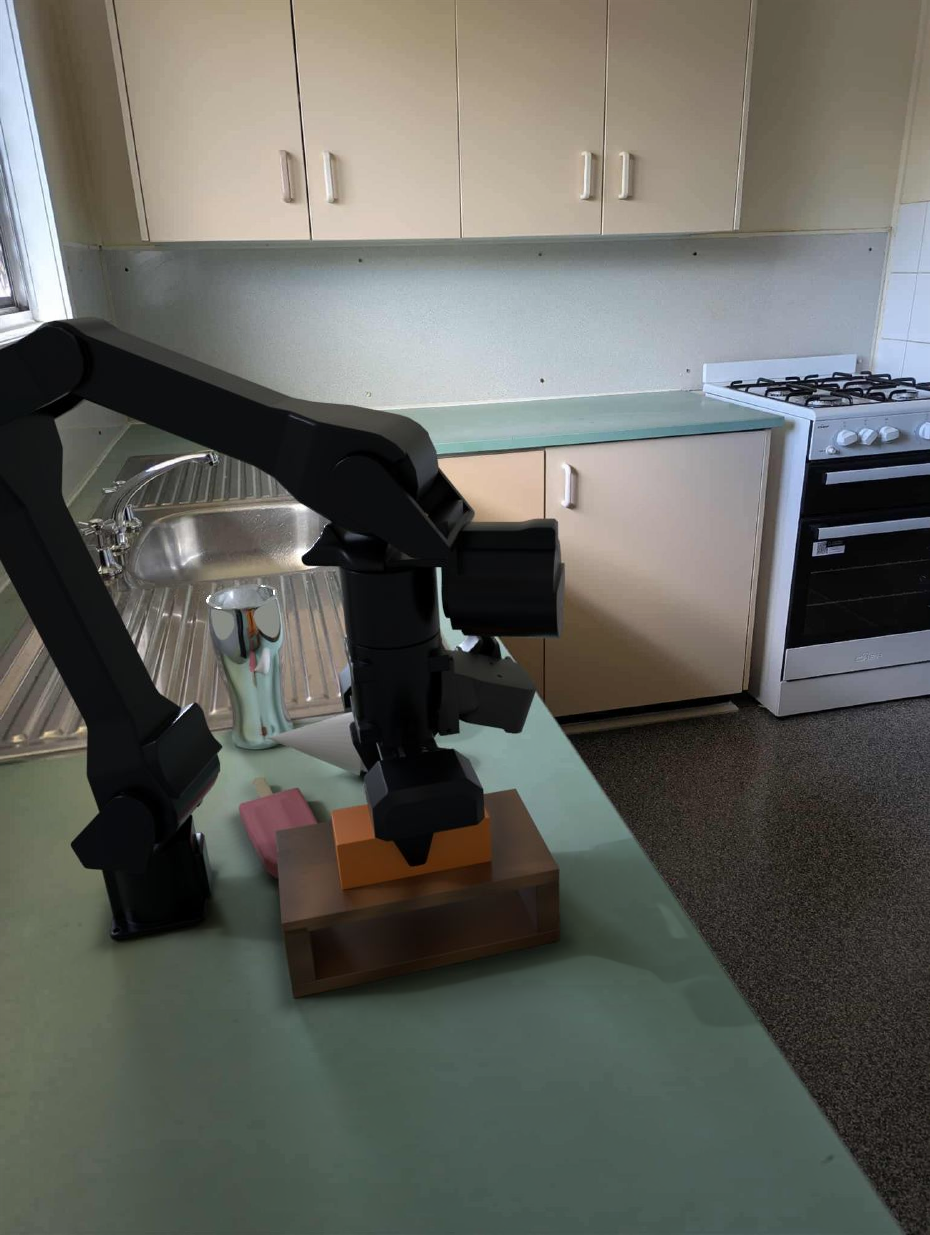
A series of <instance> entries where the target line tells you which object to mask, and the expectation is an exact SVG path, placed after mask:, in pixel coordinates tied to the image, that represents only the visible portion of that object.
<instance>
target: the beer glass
mask: <svg viewBox="0 0 930 1235" xmlns="http://www.w3.org/2000/svg"><path fill="white" fill-rule="evenodd" d="M206 604H207V612H208V613H207V615H208V616H207V617H208V626H209V628H208V629H209V635H210V643H211V647H212V648H211V649H212V652H213V657H214V660H215V663H216V666H217V669H218V672H219V674H220V677H221V680H222V682H223V686H224V688H225V691H226V693H227V697H228V699H229V703H230V707H231V714H232V723H231V724H232V726H231V739H232V742H233V743H234V744H235V745H236V746H237V747H239V748H241V749H245V750H264V749H270V748H273V747H276V746H278V745H281V744H280V743H278V742H276V741H273V740H271V739H268V738H267V737H270V736H274V735H277V734H280V733H284V732H287V731H290V730H293V729H295V728H294V724H293V720H292V718H291V715H290V712H289V709H288V706H287V700H286V670H287V639H286V638H287V637H286V628H285V624H284V618H283V614H282V613H283V612H282V609H281V605H280V600H279V595H278V590H277V589H276V588H275V587H274V586H270V585H266V584H259V583H257V584H256V583H255V584H253V583H251V584H240V585H234V586H230V587H226V588H222V589H220V590H217V591H215V592H213V593H212V594H210V595H209V596H208V597H207V599H206Z"/></svg>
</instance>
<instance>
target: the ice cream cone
mask: <svg viewBox="0 0 930 1235" xmlns="http://www.w3.org/2000/svg"><path fill="white" fill-rule="evenodd" d="M351 722H354V717H353V713H352V712H348V713H344V714H340V715H337V716H334V717H329V718H327V719H324V720H320V721H317V722H313V723H311V724H307V725H304V726H303V725H302V726H300V727H297V728H294V729H293V730H290V731H287V732H284V733H280V734H277V735H274V736H270V737H267V738H268V739H271V740H273V741H276V742H278V743H280V744H279V745H283V746H286V747H288V748H290V749H292V750H295V751H298V752H299V753H303V754H305V755H306V756H307V755H308V756H309V757H311V758H313V759H314V758H315V759H317V760H319V761H322V762H324V763H327V764H329V765H331V766H334V767H337V768H339V769H341V770H344V771H346V772H349V773H351V774H354V775H356V776H360V774H361V771H363V772H366V773H368V771H367V769H366V767H365V766H364V764H363V762H362V760H361V758H360V756H359V754H358V753H357V751H356V749H355V747H354V745H353V743H352V739H351V734H350V730H349V724H350V723H351Z"/></svg>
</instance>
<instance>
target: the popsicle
mask: <svg viewBox="0 0 930 1235" xmlns="http://www.w3.org/2000/svg"><path fill="white" fill-rule="evenodd" d="M252 784H253V786H254V788H255V790H256V792H257V794H258V797H257V798H255V799H251V800H248V801H243V802H241V803H239V805H238V811H239V812H238V813H239V817H240V819H241V821H242V824H243V827H244V828H245V831H246V833H247V835H248V837H249V839H250V842H251V844H252V846H253V847H254V849H255V852H256V854H257V855H258V857H259V859H260V861H261V863H262V866H263V867H264V869H265V871H266V872H267V873H268V874H269V875H271V876H272V877H274V878H275V879H276V880H278V864H277V848H276V833H275V831H277V830H283V829H289V828H294V827H300V826H306V825H311V824H317V823H319V822H318V821H317V818H316V817H315V814H314V813H313V810H312V808H311V807H310V805H309V803H308V802H307V800H306V798H305V796H304V794H303V792H302V791H301V789H300V788H299V787H292V788H289V789H286V790H282V791H278V792H276V793H273V791H272V788H271V786H270V785H269V783H268V781H267V779H266V777H264V776H258V777H255V778H254V779H253V780H252Z"/></svg>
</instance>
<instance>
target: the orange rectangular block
mask: <svg viewBox="0 0 930 1235" xmlns="http://www.w3.org/2000/svg"><path fill="white" fill-rule="evenodd" d="M484 810H485V818H484V819H483V820H482V821H481V822H480V823H479V824H478V825H474V826H469V827H464V828H458V829H453V830H447V831H442V832H436V833H434V835H433V838H432V842H431V846H430V850H429V854H428V858H427V862H426V863H425V864H423V865H419V866H414V867H411V866H409V864H408V863H407V861H406V860H405V858H404V857H403V855H402V854H401V852H400V851H399V849H398V848H397V846H396V845H395V843H394V842H393V841H388V842H386V841H384V840H381V839H378V838H375V835H374V831H373V827H372V823H371V818H370V814H369V809H368V804H367V803H365V804H361V805H355V806H349V807H344V808H338V809H333V810H330V816H331V817H330V818H331V821H332V825H333V833H334V841H335V849H336V856H337V862H338V868H339V874H340V880H341V886H342V890H344V889H350V888H355V887H360V886H365V885H370V884H375V883H381V882H386V881H391V880H396V879H401V878H407V877H412V876H417V875H422V874H427V873H432V872H438V871H443V870H448V869H453V868H458V867H463V866H469V865H474V864H479V863H484V862H489V861H492V857H491V835H490V817H489V815H488V813H487V811H486V808H485V806H484Z"/></svg>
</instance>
